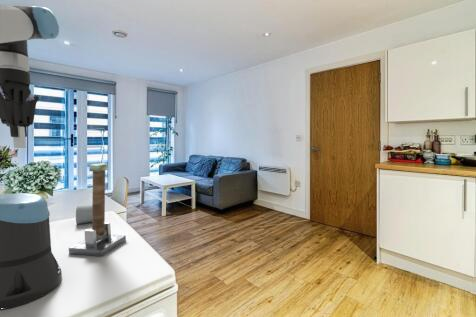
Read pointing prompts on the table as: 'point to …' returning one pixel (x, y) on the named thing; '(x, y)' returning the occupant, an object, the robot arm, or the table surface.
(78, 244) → the stand base
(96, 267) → the table surface
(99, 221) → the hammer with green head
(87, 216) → the ceramic mug
